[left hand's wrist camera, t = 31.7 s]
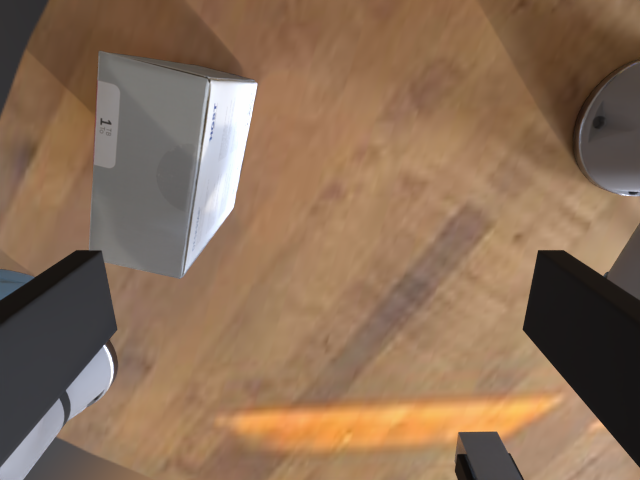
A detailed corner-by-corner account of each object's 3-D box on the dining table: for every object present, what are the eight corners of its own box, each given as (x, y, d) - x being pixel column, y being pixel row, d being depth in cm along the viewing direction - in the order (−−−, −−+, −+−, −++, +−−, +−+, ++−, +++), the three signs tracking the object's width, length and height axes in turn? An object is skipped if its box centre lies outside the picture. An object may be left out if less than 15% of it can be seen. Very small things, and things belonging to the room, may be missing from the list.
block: (497, 431, 50) (529, 494, 42) (491, 460, 52) (522, 526, 44) (458, 431, 50) (484, 495, 42) (454, 461, 52) (478, 527, 44)
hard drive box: (190, 62, 45) (97, 42, 26) (258, 80, 46) (216, 74, 27) (172, 196, 50) (85, 260, 31) (234, 211, 51) (184, 282, 32)
